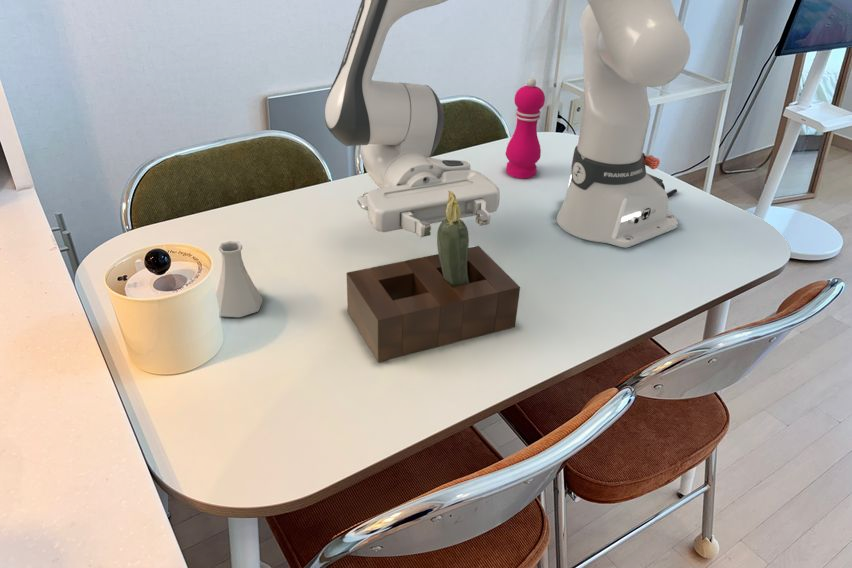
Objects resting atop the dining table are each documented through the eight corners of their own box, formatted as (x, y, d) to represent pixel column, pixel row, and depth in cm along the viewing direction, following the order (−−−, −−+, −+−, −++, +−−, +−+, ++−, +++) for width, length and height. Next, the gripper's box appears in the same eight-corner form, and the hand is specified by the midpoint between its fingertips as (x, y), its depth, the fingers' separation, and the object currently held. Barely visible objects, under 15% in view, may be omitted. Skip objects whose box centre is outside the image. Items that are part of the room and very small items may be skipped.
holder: (475, 283, 110) (478, 245, 106) (515, 327, 101) (520, 287, 97) (347, 312, 103) (346, 272, 99) (378, 362, 93) (377, 320, 89)
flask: (213, 322, 99) (204, 262, 94) (212, 294, 105) (202, 236, 100) (265, 315, 101) (259, 256, 96) (260, 288, 107) (254, 231, 102)
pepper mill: (520, 163, 152) (531, 71, 141) (545, 174, 147) (558, 80, 136) (496, 171, 148) (506, 76, 137) (521, 182, 143) (533, 86, 132)
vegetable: (469, 324, 101) (463, 204, 89) (440, 321, 102) (430, 202, 90) (473, 305, 105) (469, 187, 93) (445, 303, 105) (437, 186, 94)
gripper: (352, 177, 103) (388, 218, 92) (475, 159, 110) (520, 195, 100) (353, 215, 106) (387, 259, 96) (472, 195, 114) (515, 233, 103)
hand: (456, 226), depth 98 cm, fingers open, 8 cm apart
